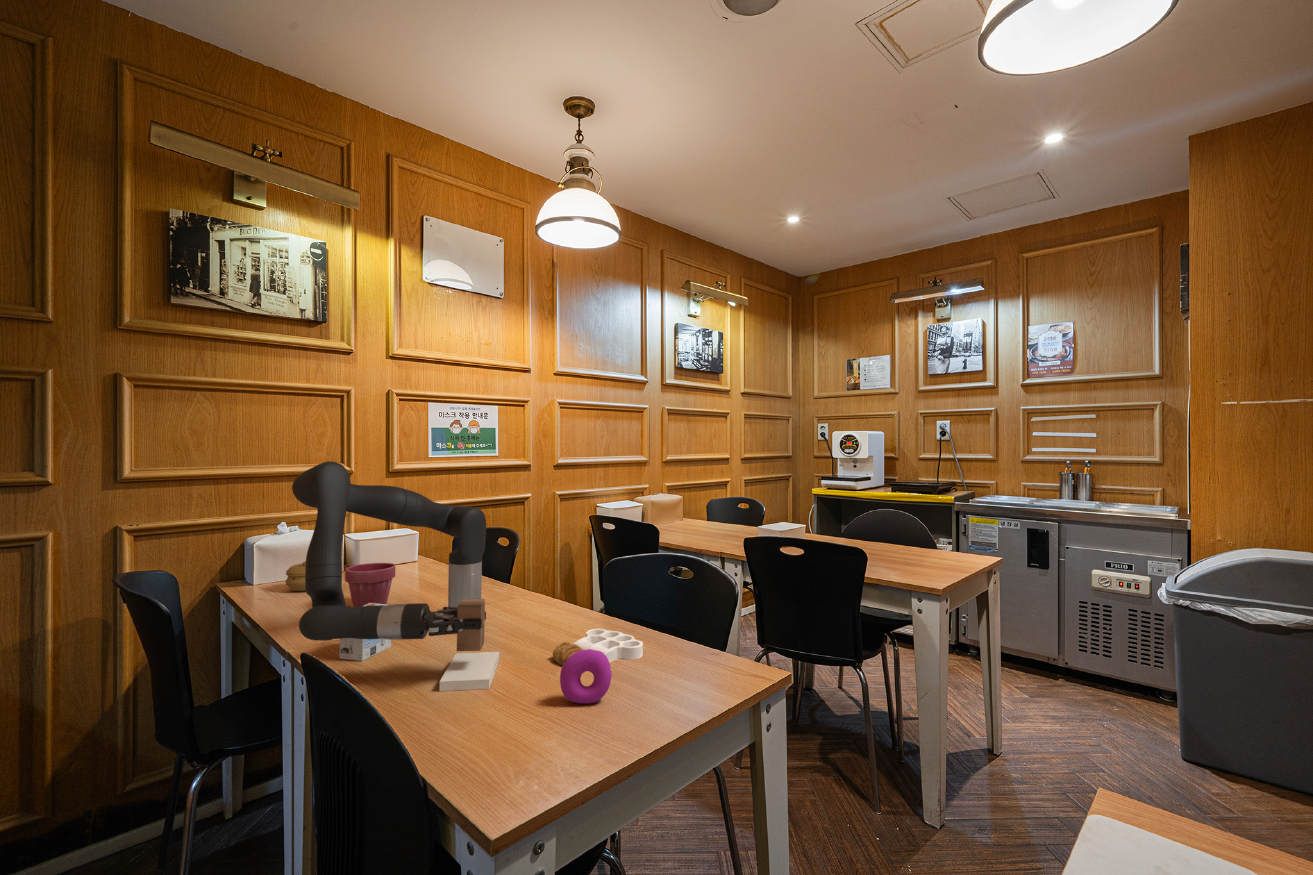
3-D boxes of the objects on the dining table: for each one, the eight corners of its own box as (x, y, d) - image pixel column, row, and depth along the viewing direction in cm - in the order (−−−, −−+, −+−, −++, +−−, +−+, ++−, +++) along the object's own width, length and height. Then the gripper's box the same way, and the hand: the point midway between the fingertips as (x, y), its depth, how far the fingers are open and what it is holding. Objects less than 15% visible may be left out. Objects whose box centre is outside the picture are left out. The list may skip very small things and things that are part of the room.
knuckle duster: (563, 651, 142) (605, 637, 153) (612, 670, 130) (654, 653, 141) (563, 637, 142) (605, 624, 153) (613, 655, 130) (655, 640, 141)
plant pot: (364, 600, 185) (365, 561, 185) (404, 602, 183) (404, 562, 183) (333, 612, 171) (334, 570, 171) (376, 614, 169) (377, 572, 169)
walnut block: (461, 643, 127) (462, 599, 128) (484, 643, 128) (485, 598, 128) (456, 651, 122) (457, 605, 123) (480, 650, 123) (481, 604, 123)
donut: (591, 714, 107) (591, 661, 108) (554, 702, 112) (555, 652, 112) (615, 698, 114) (616, 649, 114) (580, 688, 119) (580, 640, 119)
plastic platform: (455, 662, 133) (455, 653, 133) (499, 660, 134) (499, 651, 134) (439, 691, 117) (439, 681, 117) (489, 688, 118) (489, 679, 118)
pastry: (594, 665, 132) (594, 649, 132) (568, 672, 128) (569, 656, 128) (573, 654, 139) (573, 638, 139) (549, 660, 135) (549, 644, 135)
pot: (276, 593, 193) (277, 563, 193) (303, 585, 204) (304, 557, 204) (306, 595, 191) (307, 565, 191) (332, 586, 202) (332, 558, 202)
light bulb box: (362, 661, 132) (363, 616, 132) (337, 659, 134) (338, 614, 134) (392, 646, 143) (393, 603, 143) (369, 644, 144) (370, 602, 144)
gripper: (394, 613, 116) (478, 611, 119) (413, 595, 131) (489, 594, 133) (392, 650, 116) (477, 647, 119) (412, 628, 130) (488, 626, 133)
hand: (483, 619), depth 126 cm, fingers closed on walnut block, 5 cm apart
